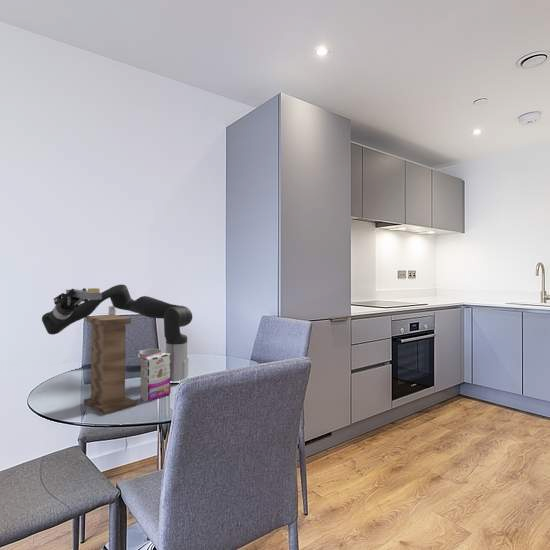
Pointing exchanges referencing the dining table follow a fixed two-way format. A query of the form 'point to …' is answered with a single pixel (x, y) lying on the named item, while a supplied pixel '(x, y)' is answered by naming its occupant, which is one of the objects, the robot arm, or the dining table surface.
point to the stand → (108, 364)
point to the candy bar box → (155, 376)
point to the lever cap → (88, 294)
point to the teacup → (147, 353)
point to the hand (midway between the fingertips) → (79, 290)
